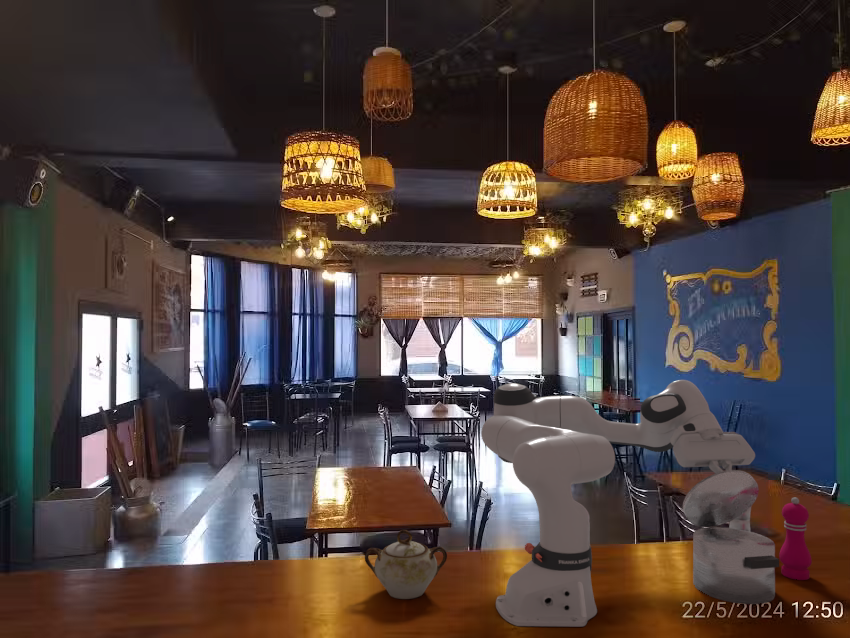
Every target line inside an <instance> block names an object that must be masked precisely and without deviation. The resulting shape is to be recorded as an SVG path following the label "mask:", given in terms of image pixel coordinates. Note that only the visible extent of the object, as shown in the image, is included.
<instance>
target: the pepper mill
mask: <svg viewBox="0 0 850 638" xmlns="http://www.w3.org/2000/svg"><path fill="white" fill-rule="evenodd" d="M809 514H810V513H809V511H808V508H807V507H806V506H804V505H803V504H801V503H800V499H799V497H791V502H789V503H786V504H784V506H783V507H782V509H781V515H782V517H783V519H784V522H783V523H784V525H783V526H784V528H785V530H786V531H785V532H786V533H785V539H784V542H783V543H782V546H781V548H780V551H779V554H778V555H779V556H778V557H779V558H778V559H779V562H781V563H782V564H783V565H781V570H780V571H781V575H783V576H784V577H785V578H787V579H791V580H796V579H797V581H806V580H807V581H808V580H809V579H810V570H809V569H808V568H809V567H811V565H812V561H813V560H812V555H811V553H810V550H809V549H808V546H807V544H806V540H805V531H807V523H806V522H807V521H808V520H809V517H810V515H809Z"/></svg>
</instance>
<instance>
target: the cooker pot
mask: <svg viewBox="0 0 850 638" xmlns="http://www.w3.org/2000/svg"><path fill="white" fill-rule="evenodd" d="M750 531H751V530H750ZM750 531H745V530H740V529H733V528H729V527H719V526H718V527H717V526H712V527H699V529H697V530H695V531H694V532H693V535H692V536H693V537H692V539H693V540H692V543H693V544H692V546H693V548H692V550H693V551H692V552H693V553H692V557H693V558H692V560H693V561H692V562H693V565H692V566H693V567H692V574H693V575H692V579H693V580H692V583H693V586H694V585H695V586H694V587H695V588H696V589H697V590H698V591H699V590H700V591H699V592H701V591H702V592H703V594H704V593H705V594H704V595H706V594H707V595H706V596H708V595H709V596H708V597H710V598H711V597H712V598H715V599H717V600H721V601H725V602H728V603H735V604H741V603H742V604H743V605H760V603H761V604H766V603H770V602H772V601H773V600H774V599H775V597H776V568H779V567H780V558H777V557H776V544H775V542H774V541H773V540H772V539H770V538H769V537H767V536H766V535H763V534H759V533H757V532H754V531H751V532H750ZM702 592H701V593H702Z"/></svg>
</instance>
